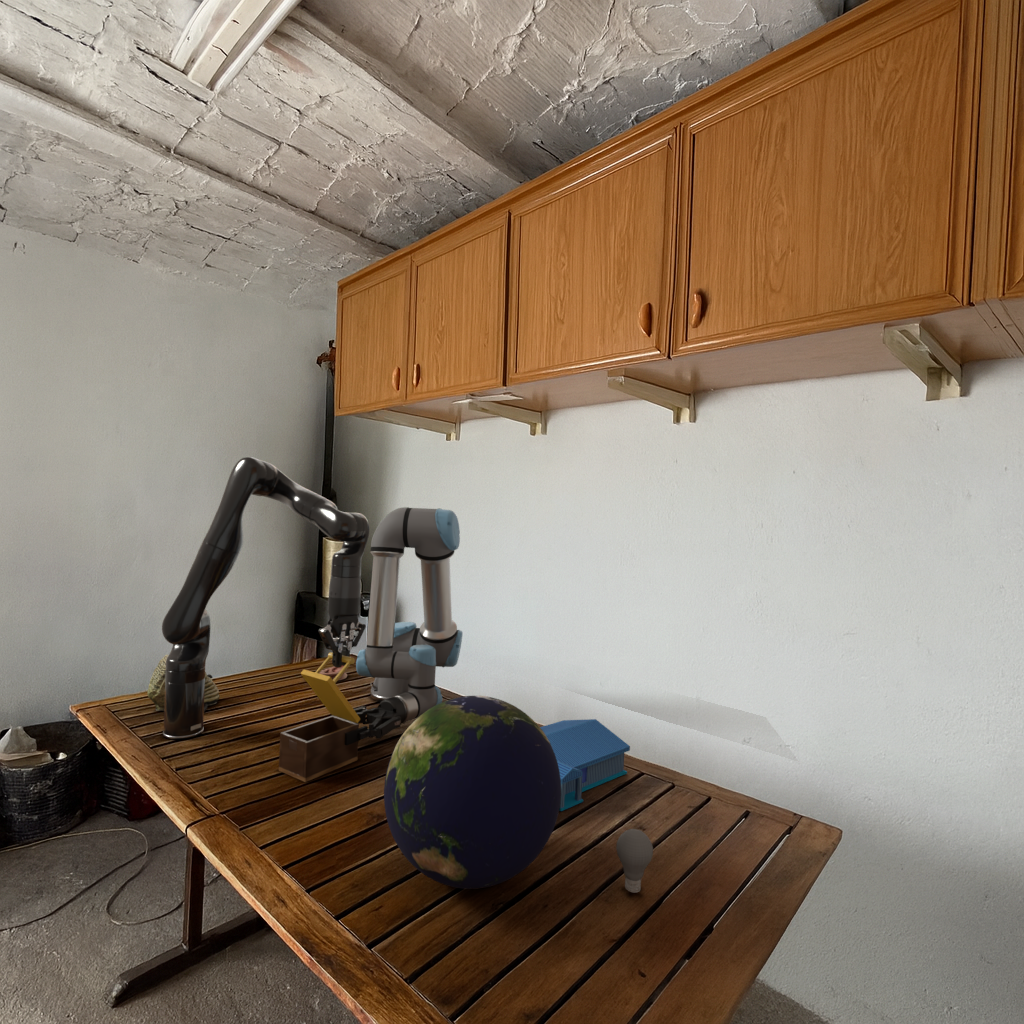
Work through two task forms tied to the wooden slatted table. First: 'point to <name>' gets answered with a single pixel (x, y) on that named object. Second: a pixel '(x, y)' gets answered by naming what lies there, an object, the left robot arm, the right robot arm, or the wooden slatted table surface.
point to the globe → (472, 792)
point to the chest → (316, 748)
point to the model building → (584, 756)
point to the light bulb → (634, 857)
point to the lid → (331, 690)
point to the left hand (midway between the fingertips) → (340, 665)
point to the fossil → (158, 687)
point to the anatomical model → (333, 672)
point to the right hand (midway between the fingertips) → (331, 734)
